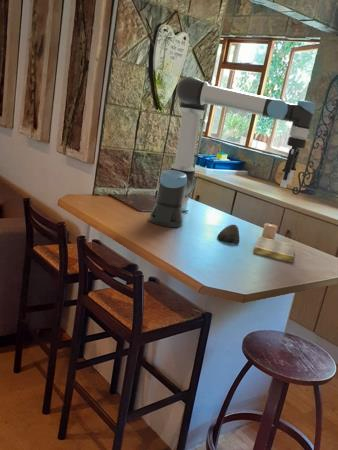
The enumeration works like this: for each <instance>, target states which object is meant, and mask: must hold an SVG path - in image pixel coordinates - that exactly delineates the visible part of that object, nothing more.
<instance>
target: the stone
mask: <svg viewBox="0 0 338 450" xmlns="http://www.w3.org/2000/svg"><path fill="white" fill-rule="evenodd" d="M217 240H219V241H223V242H224V241H226V242H233V243H235V244H239V243H240V231H239V228H238V226H237V225H236V224H229V225H227V226H226V227H224V228H223V229H222V230H220V232H219V233H218V234H217Z"/></svg>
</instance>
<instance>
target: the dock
mask: <svg viewBox="0 0 338 450" xmlns="http://www.w3.org/2000/svg"><path fill="white" fill-rule="evenodd" d="M252 252H253V254H257V255H258V254H259V255H260V256H261V255H262V256H265V257H269V258H273V259H277V260H280V261H283V262H284V261H285V262H289V263H292V262H293V260H294V256H295V245H294V244H291V243H287V242H283V241H279V240H275V239H274V240H272V239H268V238H264V237H262V236H260V235H258V238H257V239H256V243H254V248H253V250H252Z"/></svg>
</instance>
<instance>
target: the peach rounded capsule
mask: <svg viewBox="0 0 338 450" xmlns="http://www.w3.org/2000/svg"><path fill="white" fill-rule="evenodd" d="M278 228H279V227H278V226H277V225H276V224H273V223H268V222H267V223H264V226H263V230H262V233H261V237H264V238H268V239H272V240H275V239H276V235H277V231H278Z"/></svg>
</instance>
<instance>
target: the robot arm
mask: <svg viewBox="0 0 338 450" xmlns="http://www.w3.org/2000/svg"><path fill="white" fill-rule="evenodd" d="M175 92H176V95H177V98H178V99H179V102H180V103H179V109H180V111H181V119H180V124H179V125H180V126H179V131H178V132H179V133H178V139H177V145H176V154H175V158H174V159H175V160H174V163H173V164H172V165H171V166H170V170H169V169H166V170H163V171H162V172H161V174H160V177H159V185H158V190H157V196H156V203H155V205H154V206H153V209H152V210H151V213H150V215H149V221H150V222H151V223H154V224H155V225H159V226H162V227H166V228H180V227H182V225H183V213H182V205H183V200H184V197H186V196H187V195H189V194H190V193H192V191H194V189H195V186H196V177H195V172H196V169H195V167H194V166H193V165H194V159H195V153H196V147H197V146H196V145H197V140H198V136H199V135H198V133H199V127H200V121H201V116H202V114H204V112H205V111H206V105H211V106H217V107H220V108H224V109H229V110H233V111H234V110H235V111H239V112H244V113H247V114H252V115H257V116H262V117H266V118H270V119H273V120H279V121H285V122H286V121H287V122H292V124H291V128H290V130H289V134H288V135H289V137H288V139H287V143H286V145H287V146H289V147H290V149H289V151H288V155H287V158H286V161H285V165H284V168H282V170H281V171H282V172H283V173H282V177H281V181H280V184H279V187H280V188H284V189H287V186H288V185H289V186H290V185H291V184H292V182H293V181H292V180H293V177H294V172H295V171H297V167H296V166H297V161H298V157H299V155H300V149H305V148H306V144H307V140H306V139H308V135H310V133H311V132H310V129H311V128H310V127H311V126H312V125H311V124H312V121H313V118H314V114H315V109H316V104H315V102H313V101H309V100H303V99H299V100H298V101H297V103H290V102H286V101H284V100H283V99H280V98H272V97H267V96H264V95H258V94H254V93H250V92H244V91H240V90H234V89H229V88H227V87H226V88H225V87H220V86H216V85H211V84H210V83H209V82H208V81H204V80H203V79H199V78H197V77H194V76H185V77H183V78H182V79H181V80H180V81H179V82H178V83H177V85H176V89H175Z"/></svg>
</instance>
